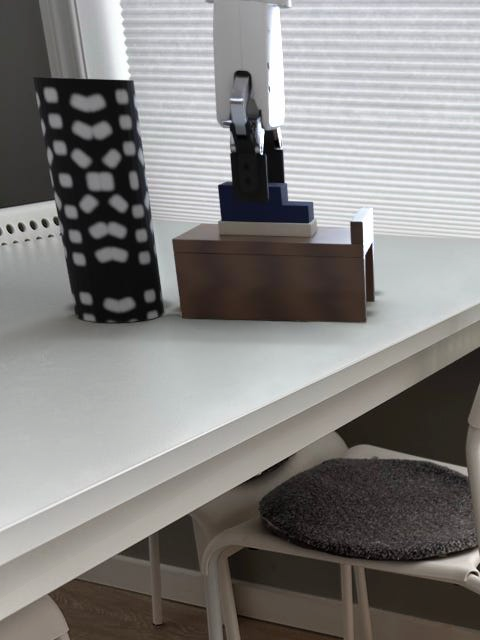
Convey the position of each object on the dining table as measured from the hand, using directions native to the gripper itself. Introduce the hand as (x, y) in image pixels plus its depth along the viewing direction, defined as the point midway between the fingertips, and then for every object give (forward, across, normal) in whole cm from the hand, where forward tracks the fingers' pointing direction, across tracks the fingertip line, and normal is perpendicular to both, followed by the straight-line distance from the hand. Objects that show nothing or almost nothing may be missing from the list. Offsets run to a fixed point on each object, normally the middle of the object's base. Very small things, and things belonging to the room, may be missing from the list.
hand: (260, 197), depth 93 cm
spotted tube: (+11, +4, -14) cm, 18 cm away
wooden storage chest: (+10, 0, +2) cm, 11 cm away
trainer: (+3, 0, +1) cm, 3 cm away
